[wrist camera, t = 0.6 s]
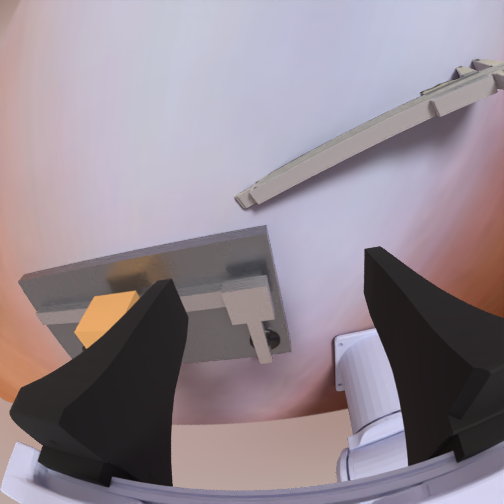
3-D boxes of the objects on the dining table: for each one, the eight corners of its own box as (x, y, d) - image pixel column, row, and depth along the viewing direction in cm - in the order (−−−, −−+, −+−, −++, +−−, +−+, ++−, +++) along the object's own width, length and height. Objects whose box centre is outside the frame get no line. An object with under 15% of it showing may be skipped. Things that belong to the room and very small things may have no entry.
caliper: (473, 57, 14) (532, 64, 8) (478, 71, 14) (538, 81, 9) (234, 194, 20) (225, 242, 15) (244, 206, 21) (239, 258, 15)
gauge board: (290, 341, 27) (293, 371, 24) (80, 356, 30) (70, 378, 27) (266, 224, 21) (267, 251, 18) (24, 274, 24) (6, 295, 21)
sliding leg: (178, 355, 26) (169, 400, 22) (141, 357, 27) (128, 399, 23) (139, 283, 22) (118, 329, 18) (98, 289, 22) (74, 332, 18)
